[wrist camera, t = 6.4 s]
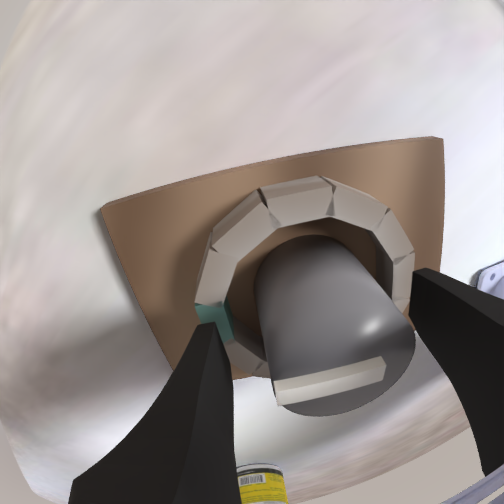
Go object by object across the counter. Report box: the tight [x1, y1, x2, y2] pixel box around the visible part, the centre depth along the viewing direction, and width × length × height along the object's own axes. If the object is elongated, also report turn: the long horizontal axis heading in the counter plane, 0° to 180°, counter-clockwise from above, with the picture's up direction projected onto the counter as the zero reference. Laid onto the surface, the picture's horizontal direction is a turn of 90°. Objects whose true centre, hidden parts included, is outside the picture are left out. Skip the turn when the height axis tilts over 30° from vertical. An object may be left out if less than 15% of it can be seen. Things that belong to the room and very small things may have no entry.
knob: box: [254, 234, 416, 416], centre depth 10 cm, size 4×4×5 cm
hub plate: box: [100, 136, 445, 380], centre depth 12 cm, size 14×10×2 cm
